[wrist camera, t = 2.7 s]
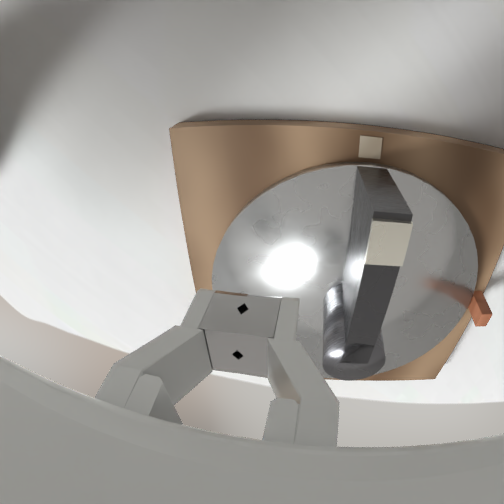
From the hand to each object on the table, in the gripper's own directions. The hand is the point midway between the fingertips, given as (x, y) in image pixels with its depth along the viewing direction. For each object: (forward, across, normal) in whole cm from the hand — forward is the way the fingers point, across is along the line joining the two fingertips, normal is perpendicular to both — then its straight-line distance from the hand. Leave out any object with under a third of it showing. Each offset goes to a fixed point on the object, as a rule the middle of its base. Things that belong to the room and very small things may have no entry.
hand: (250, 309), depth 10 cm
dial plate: (+12, -4, +8) cm, 15 cm away
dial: (+10, -5, +8) cm, 13 cm away
